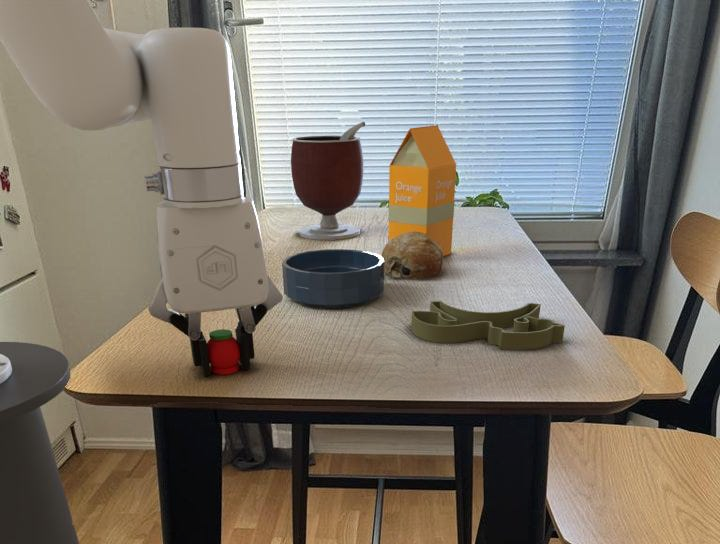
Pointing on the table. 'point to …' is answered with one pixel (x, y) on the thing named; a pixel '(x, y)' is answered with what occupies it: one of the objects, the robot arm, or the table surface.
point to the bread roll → (412, 256)
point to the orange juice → (423, 187)
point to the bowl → (333, 277)
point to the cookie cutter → (487, 326)
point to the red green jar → (223, 352)
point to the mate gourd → (328, 179)
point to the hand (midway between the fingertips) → (225, 366)
